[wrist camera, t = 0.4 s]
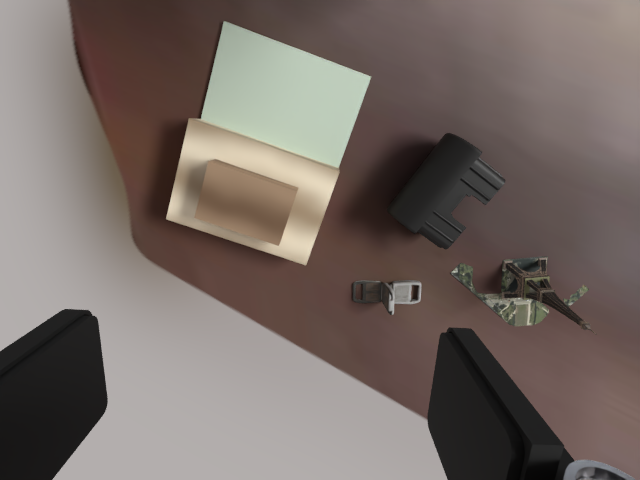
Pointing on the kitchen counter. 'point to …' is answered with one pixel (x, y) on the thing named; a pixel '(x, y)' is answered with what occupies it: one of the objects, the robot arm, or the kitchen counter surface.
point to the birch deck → (265, 160)
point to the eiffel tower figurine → (523, 292)
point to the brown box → (245, 201)
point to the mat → (283, 95)
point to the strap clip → (388, 293)
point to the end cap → (444, 190)
